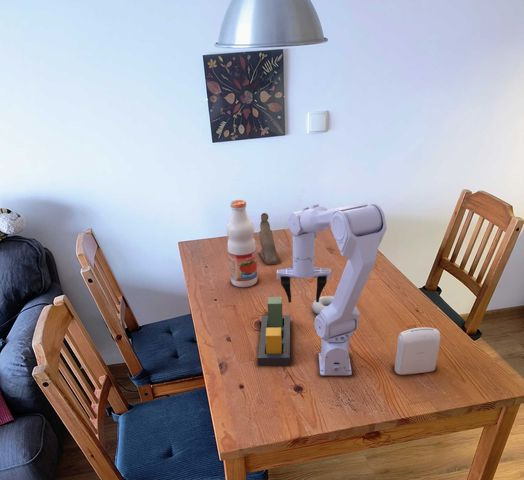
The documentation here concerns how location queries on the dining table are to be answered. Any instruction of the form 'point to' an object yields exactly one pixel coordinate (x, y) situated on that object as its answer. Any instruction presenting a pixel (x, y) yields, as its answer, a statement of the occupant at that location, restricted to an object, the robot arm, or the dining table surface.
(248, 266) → the fruit juice
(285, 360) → the peg stand
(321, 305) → the donut
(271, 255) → the worn brown figurine
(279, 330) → the mustard peg
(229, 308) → the dining table surface
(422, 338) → the photo printer
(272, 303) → the green peg
